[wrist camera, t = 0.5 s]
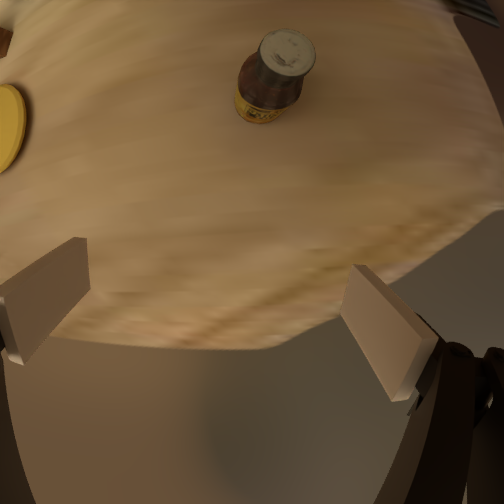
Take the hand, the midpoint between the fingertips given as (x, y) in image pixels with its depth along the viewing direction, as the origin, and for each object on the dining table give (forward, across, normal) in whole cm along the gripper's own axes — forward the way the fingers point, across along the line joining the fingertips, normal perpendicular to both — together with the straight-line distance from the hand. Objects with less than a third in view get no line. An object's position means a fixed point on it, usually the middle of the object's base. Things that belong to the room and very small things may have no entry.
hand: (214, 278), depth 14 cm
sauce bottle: (+27, +3, +13) cm, 31 cm away
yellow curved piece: (+28, -40, +10) cm, 50 cm away
